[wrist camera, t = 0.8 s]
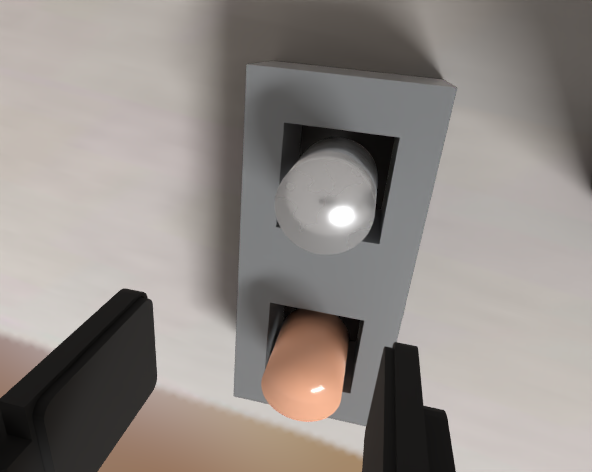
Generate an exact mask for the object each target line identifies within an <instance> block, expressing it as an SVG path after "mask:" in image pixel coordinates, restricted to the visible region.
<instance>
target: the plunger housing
mask: <svg viewBox="0 0 592 472" xmlns="http://www.w3.org/2000/svg"><path fill="white" fill-rule="evenodd" d="M456 91H457V87H455V86H454V85H452V84H450V83H449V82H447V81H446V80H444V79H436V78H426V77H417V76H408V75H399V74H390V73H381V72H372V71H363V70H353V69H344V68H335V67H326V66H317V65H308V64H299V63H290V62H280V61H268V62H260V63H252V64H246V90H245V115H244V141H243V167H242V192H241V218H240V244H239V269H238V295H237V321H236V346H235V372H234V396H235V397H239V398H244V399H248V400H253V401H257V402H261V403H266V404H269V403H268V402H267V400H266V399H265V397H264V395H263V392H262V387H261V381H262V377H263V374H264V371H265V369H266V366H267V364H268V361H269V358H270V356H271V353H272V351H273V348H274V345H275V343H276V340H277V338H278V335H279V332H280V330H281V327H282V325H283V318H284V308H285V305H286V306H291V307H296V308H301V309H307V310H312V311H317V312H322V313H327V314H332V315H338V316H343V317H348V318H353V319H358V320H360V325H359V330H358V335H357V341H356V342H355V341H350V340H349V346H348V353H347V360H346V368H345V375H344V382H343V389H342V396H341V402H340V405H339V407H338V408H337V410H336V411H335V412H334V413H333V414H332V415H330V416H329V417H327V418H331V419H336V420H340V421H345V422H349V423H353V424H358V425H362V426H366V425H367V420H368V416H369V411H370V407H371V402H372V398H373V393H374V389H375V384H376V380H377V375H378V371H379V367H380V362H381V358H382V353H383V349H384V346H386V347H391V348H392V346H393V343H394V342H397V338H398V334H399V330H400V325H401V321H402V317H403V313H404V309H405V305H406V300H407V296H408V292H409V288H410V284H411V279H412V275H413V271H414V267H415V263H416V258H417V254H418V250H419V246H420V242H421V237H422V233H423V229H424V225H425V221H426V217H427V212H428V208H429V204H430V200H431V196H432V191H433V187H434V183H435V179H436V175H437V170H438V166H439V162H440V158H441V154H442V150H443V145H444V141H445V137H446V133H447V129H448V124H449V120H450V116H451V112H452V108H453V103H454V99H455V95H456ZM302 125H307V126H315V127H323V128H330V129H338V130H346V131H353V132H361V133H369V134H376V135H384V136H392V137H395V139H394V145H393V150H392V155H391V160H390V166H389V171H388V176H387V182H386V187H385V192H384V198H383V203H382V208H381V210H379V209H375V217H374V221H373V224H372V227H371V229H370V231H369V232H368V234H367V235H366V237H365V238H364V239H363V240H362V241H361V242H360V243H359V244H358V245H356V246H355V247H353V248H352V249H350V250H348V251H345V252H342V253H338V254H332V255H323V254H316V253H312V252H309V251H306V250H304V249H302V248H300V247H299V246H297V245H296V244H294V243H293V242H292V241H291V240H290V239H289V238H288V237H287V236H286V235H285V233H284V232H283V231H282V229H281V227H280V225H279V223H278V221H277V217H276V214H275V196H276V193H277V189H278V187H279V185H280V183H281V181H282V180H283V178H284V177H285V176H286V175H287V173H288V172H289V171H290V170H291V168H292V167H293V166H294V165H295V163H296V162H297V161H298V160H299V151H300V140H301V130H302Z"/></svg>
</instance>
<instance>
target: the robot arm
mask: <svg viewBox="0 0 592 472" xmlns="http://www.w3.org/2000/svg"><path fill="white" fill-rule="evenodd" d="M156 381H157V367H156V351H155V334H154V318H153V304H152V301H151V300H150V299H148V298H147V295H146V293H144V292H140V291H135V290H130V289H121V290H120V291H119V292H118V293H117V294H115V295H114V296H113V297H112V298H111V299H110V300H109V301H108V302H107V303H105V304H104V305H103V306H102V307H101V308H100V309H99V310H98V311H97V312H95V313H94V314H93V315H92V316H91V317H90V318H89V319H88V320H87V321H86V322H84V323H83V324H82V325H81V326H80V327H79V328H78V329H77V330H76V331H74V332H73V333H72V334H71V335H70V336H69V337H68V338H67V339H66V340H64V341H63V342H62V343H61V344H60V345H59V346H58V347H57V348H56V349H55V350H53V351H52V352H51V353H50V354H49V355H48V356H47V357H46V358H45V359H43V360H42V361H41V362H40V363H39V364H38V365H37V366H36V367H35V368H34V369H33V370H31V371H30V372H29V373H28V374H27V375H26V376H25V377H24V378H22V379H21V380H20V381H19V382H18V383H17V384H16V385H15V386H14V387H12V388H11V389H10V390H9V391H8V392H7V393H6V394H5V395H4V396H2V397H1V398H0V472H97V471H98V470H99V468H100V467H101V466H102V464H103V463H104V461H105V460H106V458H107V457H108V455H109V454H110V452H111V451H112V450H113V448H114V447H115V445H116V443H117V442H118V441H119V439H120V438H121V437H122V435H123V433H124V432H125V431H126V429H127V428H128V426H129V425H130V423H131V422H132V420H133V419H134V417H135V416H136V415H137V413H138V412H139V410H140V409H141V407H142V406H143V405H144V403H145V402H146V400H147V399H148V397H149V396H150V394H151V393H152V391H153V390H154V388H155V385H156ZM362 472H456V471H455V465H454V458H453V452H452V445H451V439H450V432H449V426H448V419H447V415H446V412H445V411H444V410H440V409H436V408H431V407H427V406H423V398H422V387H421V376H420V365H419V354H418V347H417V346H412V345H407V344H402V343H397V342H394V343H393V346H392V348H391V347H386V346H384V349H383V353H382V358H381V362H380V367H379V371H378V375H377V380H376V384H375V389H374V393H373V398H372V402H371V407H370V411H369V416H368V420H367V425H366V430H365V438H364V452H363V468H362Z"/></svg>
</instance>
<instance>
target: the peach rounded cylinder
mask: <svg viewBox="0 0 592 472" xmlns="http://www.w3.org/2000/svg"><path fill="white" fill-rule="evenodd" d="M348 346H349V334H348V330H347V328H346V326H345V324H344V323H343V322H342V320H341V319H340V318H339V317H337V316H336V315H332V314H327V313H322V312H317V311H312V310H307V309H298V310H295V311H293V312H292V313H291V314H289V315H288V316H287V318H286V319H285V320H284V322H283V325H282V327H281V330H280V332H279V335H278V338H277V340H276V343H275V345H274V348H273V351H272V353H271V356H270V358H269V361H268V364H267V366H266V369H265V371H264V374H263V377H262V381H261V387H262V392H263V395H264V397H265V399H266V400H267V402H268V403H269V404H270V405H271V406H272V407H273V408H274V409H275V410H276V411H278V412H279V413H281V414H282V415H284V416H286V417H288V418H291V419H294V420H298V421H306V422H312V421H319V420H322V419H325V418H327V417H329V416H330V415H332V414H333V413H334V412H335V411H336V410H337V408H338V407H339V405H340V402H341V396H342V389H343V382H344V375H345V368H346V360H347V353H348Z"/></svg>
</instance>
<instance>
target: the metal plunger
mask: <svg viewBox="0 0 592 472" xmlns="http://www.w3.org/2000/svg"><path fill="white" fill-rule="evenodd" d="M377 185H378V172H377V167H376V164H375V162H374V159H373V158H372V156H371V155H370V153H369V152H368V151H367V150H366V149H365V148H364V147H363V146H362V145H360V144H359V143H357V142H355V141H353V140H350V139H347V138H342V137H330V138H325V139H322V140H320V141H318V142H316V143H314V144H313V145H311V146H310V147H309V148H308V149H307V150H306V151H305V152H304V153H303V155H302V156H301V157H300V158H299V160H298V161H297V162H296V163H295V165H294V166H293V167H292V168H291V170H290V171H289V172H288V173H287V175H286V176H285V177H284V178H283V180H282V181H281V183H280V185H279V187H278V189H277V193H276V196H275V214H276V217H277V221H278V223H279V225H280V227H281V229H282V231H283V232H284V233H285V235H286V236H287V237H288V238H289V239H290V240H291V241H292V242H293V243H294V244H296V245H297V246H299V247H300V248H302V249H304V250H306V251H309V252H312V253H316V254H323V255H332V254H338V253H342V252H345V251H348V250H350V249H352V248H353V247H355V246H356V245H358V244H359V243H360V242H361V241H362V240H363V239H364V238H365V237H366V235H367V234H368V232H369V231H370V229H371V227H372V224H373V221H374V217H375V207H376V196H377Z"/></svg>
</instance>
